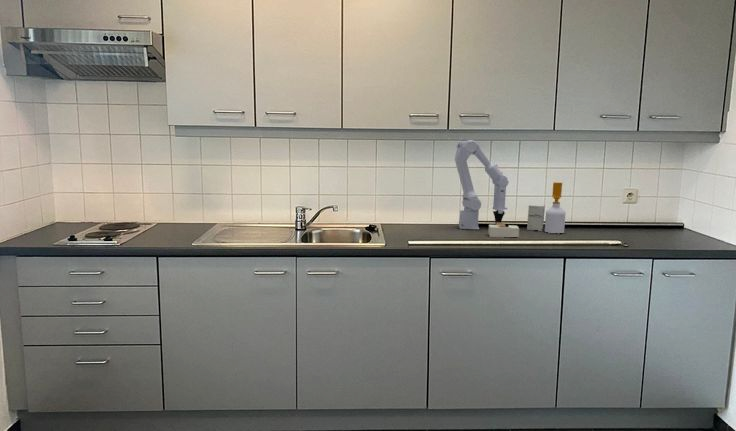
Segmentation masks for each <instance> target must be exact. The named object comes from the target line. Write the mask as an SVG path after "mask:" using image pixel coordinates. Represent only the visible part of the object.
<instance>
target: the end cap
mask: <svg viewBox="0 0 736 431" xmlns="http://www.w3.org/2000/svg"><path fill="white" fill-rule="evenodd" d="M487 231H488V236H489V238H504V237H519V236H520V228H519V226H518V225H513V224H512V225H510V224H509V225H508V226H506V227H498V225H496V224H488V230H487Z"/></svg>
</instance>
